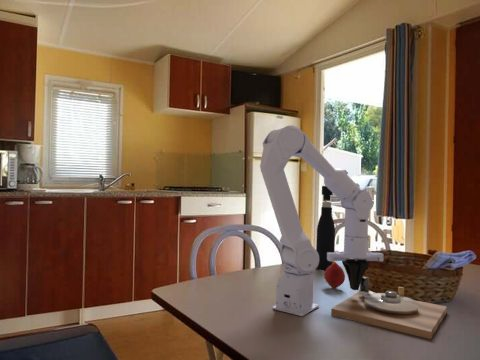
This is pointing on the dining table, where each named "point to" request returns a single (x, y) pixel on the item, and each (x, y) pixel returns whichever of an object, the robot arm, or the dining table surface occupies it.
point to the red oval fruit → (334, 275)
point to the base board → (393, 316)
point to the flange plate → (387, 300)
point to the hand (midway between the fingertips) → (354, 289)
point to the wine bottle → (325, 231)
